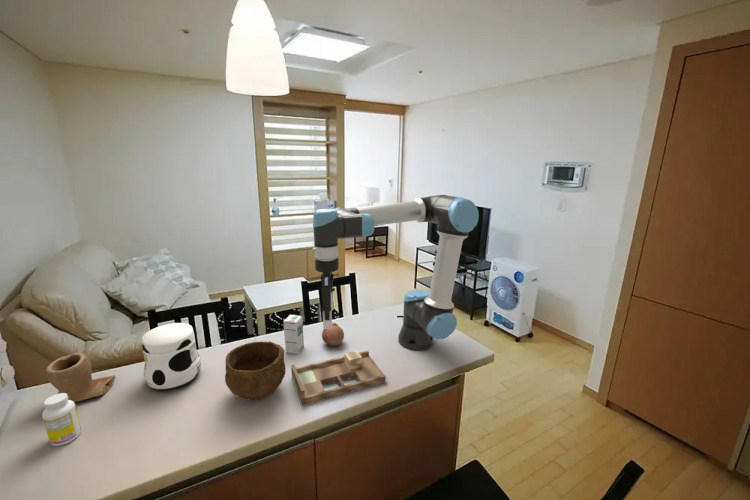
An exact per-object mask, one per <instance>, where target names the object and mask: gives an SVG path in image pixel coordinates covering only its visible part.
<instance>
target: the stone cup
mask: <svg viewBox="0 0 750 500" xmlns="http://www.w3.org/2000/svg"><path fill="white" fill-rule="evenodd" d="M92 370H93V369H92V362H91V360H90V358H89V357H88V356H87V355H86V354H85V353H82V352H74V353H73V352H72V353H71V354H68V355H66V356H64V355H63V356H62V357H58V358H57V359H55V360H54V361H52V362H50V364H49V365H48V366H47V367H46V369H45V377H46V379H47V380H48V382H49V383H50V384H51V385H52V386H53V387H54V388H55V389H56V390H58V392H57V393H56V394H59V393H66V394H67V395H68V400H71V401H73V402H74V403H76V402H81V401H84V400H88V399H91V398H96V397H100V396H102V395H104V394H106V393H107V392H108V391H109V390H110V388H112V386H113V383H114V382H115V380H116V375H115V374H114V375H109V376H104V377H99V378H95V379H93V376H92V374H93V373H92Z"/></svg>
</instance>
